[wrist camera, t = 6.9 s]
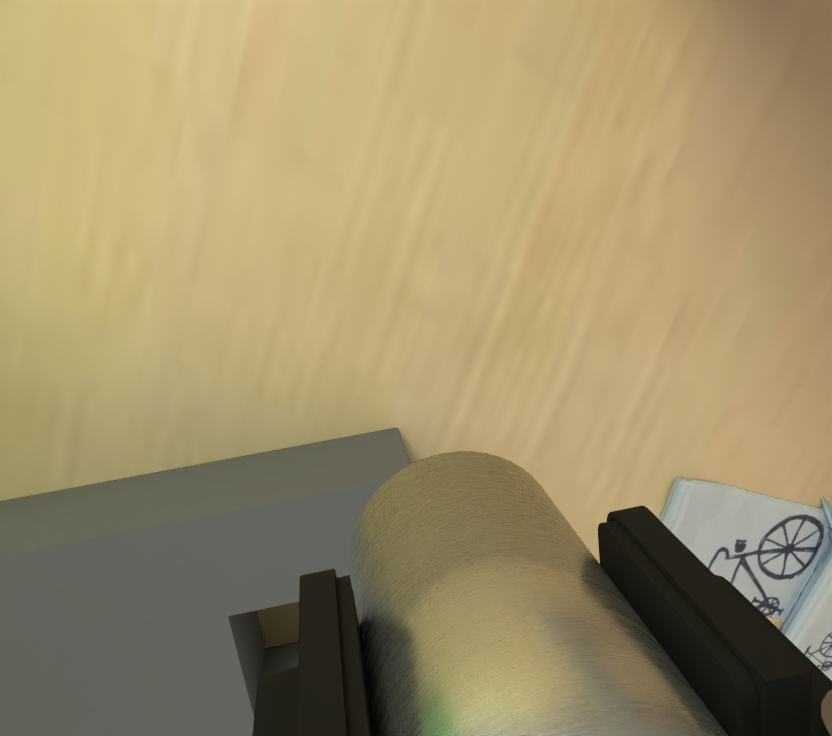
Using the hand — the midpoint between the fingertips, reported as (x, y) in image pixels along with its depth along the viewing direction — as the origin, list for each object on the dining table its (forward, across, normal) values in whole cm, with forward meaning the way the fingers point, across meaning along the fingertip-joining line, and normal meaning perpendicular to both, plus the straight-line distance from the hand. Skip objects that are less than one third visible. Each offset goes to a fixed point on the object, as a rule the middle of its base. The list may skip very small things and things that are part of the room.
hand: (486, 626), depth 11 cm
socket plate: (+19, +10, +11) cm, 25 cm away
